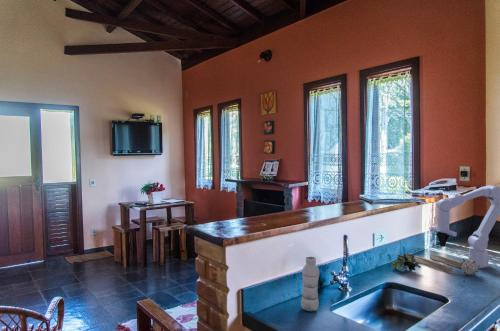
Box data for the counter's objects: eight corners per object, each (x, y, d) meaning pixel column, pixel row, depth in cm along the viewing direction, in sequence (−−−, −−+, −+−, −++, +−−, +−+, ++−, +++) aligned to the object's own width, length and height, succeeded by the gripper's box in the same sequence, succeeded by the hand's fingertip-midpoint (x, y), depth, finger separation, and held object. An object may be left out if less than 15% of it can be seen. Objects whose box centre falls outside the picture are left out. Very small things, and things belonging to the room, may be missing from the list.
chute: (431, 258, 209) (431, 253, 209) (468, 270, 189) (468, 264, 189) (414, 261, 204) (414, 255, 204) (450, 273, 184) (450, 267, 184)
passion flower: (409, 280, 188) (425, 264, 184) (401, 282, 180) (417, 265, 176) (393, 264, 195) (408, 248, 191) (384, 264, 187) (400, 248, 183)
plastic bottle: (299, 306, 143) (300, 255, 142) (316, 305, 143) (317, 255, 142) (302, 313, 136) (303, 260, 135) (320, 313, 137) (321, 260, 136)
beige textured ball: (473, 283, 181) (485, 271, 175) (455, 276, 182) (467, 263, 176) (471, 270, 188) (482, 258, 181) (454, 263, 189) (465, 250, 183)
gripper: (426, 219, 204) (426, 243, 205) (450, 224, 191) (449, 250, 191) (435, 219, 207) (434, 242, 208) (459, 223, 194) (458, 249, 194)
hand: (442, 246), depth 200 cm, fingers closed
